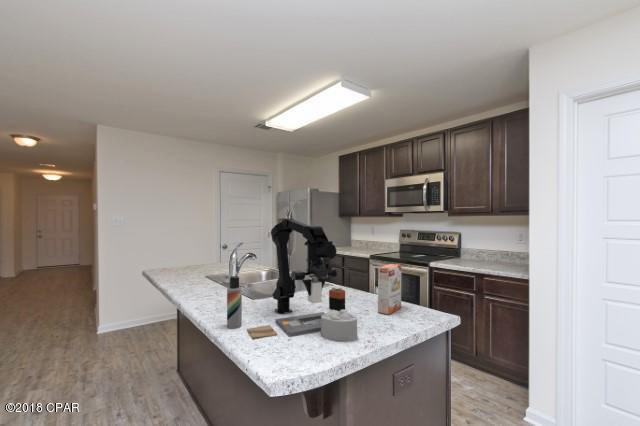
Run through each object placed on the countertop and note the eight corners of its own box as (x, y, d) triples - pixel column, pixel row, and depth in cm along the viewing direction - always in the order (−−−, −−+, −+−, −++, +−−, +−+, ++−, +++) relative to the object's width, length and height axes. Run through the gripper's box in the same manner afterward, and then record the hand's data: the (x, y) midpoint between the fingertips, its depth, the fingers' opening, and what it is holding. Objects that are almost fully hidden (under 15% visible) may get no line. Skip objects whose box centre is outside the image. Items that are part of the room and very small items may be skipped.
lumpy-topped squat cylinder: (331, 328, 120) (331, 306, 121) (362, 334, 114) (362, 311, 114) (317, 337, 111) (317, 313, 112) (350, 344, 105) (350, 319, 105)
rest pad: (246, 330, 119) (246, 328, 119) (269, 326, 123) (269, 325, 123) (252, 339, 110) (252, 337, 110) (277, 335, 113) (277, 333, 113)
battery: (340, 311, 142) (340, 289, 142) (328, 309, 146) (328, 288, 146) (345, 309, 146) (345, 288, 146) (333, 307, 150) (333, 286, 150)
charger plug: (307, 300, 127) (307, 277, 127) (316, 299, 129) (316, 276, 129) (312, 303, 123) (312, 279, 123) (321, 302, 124) (321, 278, 124)
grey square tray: (275, 322, 127) (275, 317, 127) (323, 315, 137) (323, 310, 137) (289, 336, 112) (289, 330, 112) (342, 327, 121) (342, 321, 121)
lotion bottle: (228, 324, 126) (228, 275, 126) (242, 323, 127) (242, 274, 127) (225, 328, 120) (225, 277, 121) (240, 328, 121) (240, 277, 121)
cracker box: (389, 315, 136) (389, 268, 136) (377, 313, 139) (376, 266, 140) (402, 308, 147) (401, 264, 147) (390, 306, 150) (390, 263, 151)
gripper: (300, 260, 115) (300, 302, 114) (344, 257, 123) (344, 296, 122) (290, 257, 125) (290, 295, 124) (331, 254, 133) (331, 291, 132)
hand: (314, 295), depth 126 cm, fingers closed on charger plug, 4 cm apart
